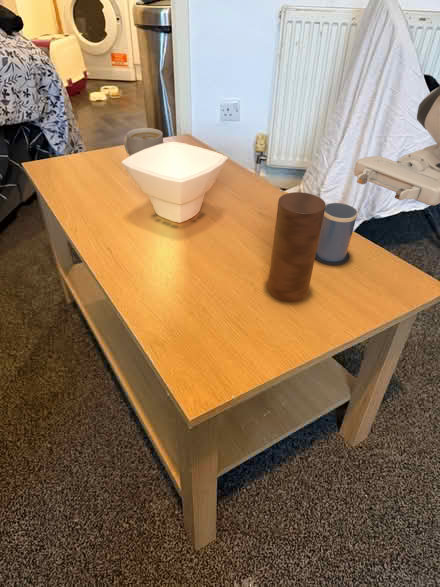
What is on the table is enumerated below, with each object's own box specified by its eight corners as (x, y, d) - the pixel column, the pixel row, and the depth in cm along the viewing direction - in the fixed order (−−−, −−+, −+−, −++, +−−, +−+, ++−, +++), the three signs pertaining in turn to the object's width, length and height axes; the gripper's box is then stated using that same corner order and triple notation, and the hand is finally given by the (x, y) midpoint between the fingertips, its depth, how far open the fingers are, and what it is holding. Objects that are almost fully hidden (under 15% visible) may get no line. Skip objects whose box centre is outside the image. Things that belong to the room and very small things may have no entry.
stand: (308, 280, 80) (325, 194, 69) (307, 304, 74) (325, 215, 63) (269, 275, 81) (280, 189, 70) (265, 298, 75) (276, 210, 64)
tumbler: (346, 247, 89) (357, 205, 83) (346, 264, 84) (358, 220, 78) (315, 242, 90) (323, 200, 84) (313, 259, 85) (322, 216, 79)
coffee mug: (171, 169, 121) (169, 134, 115) (143, 177, 116) (139, 142, 109) (146, 156, 129) (143, 122, 122) (118, 163, 123) (113, 129, 117)
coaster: (348, 247, 90) (348, 245, 89) (349, 267, 84) (350, 266, 83) (311, 242, 91) (311, 241, 91) (310, 262, 85) (310, 261, 84)
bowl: (172, 191, 109) (169, 138, 101) (232, 212, 101) (235, 156, 92) (121, 218, 97) (113, 160, 88) (185, 245, 89) (182, 184, 80)
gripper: (378, 145, 97) (341, 157, 90) (463, 173, 85) (428, 190, 78) (372, 171, 101) (336, 185, 94) (452, 201, 88) (417, 220, 82)
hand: (378, 187), depth 86 cm, fingers open, 8 cm apart
